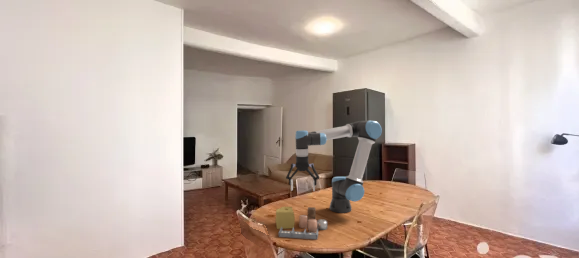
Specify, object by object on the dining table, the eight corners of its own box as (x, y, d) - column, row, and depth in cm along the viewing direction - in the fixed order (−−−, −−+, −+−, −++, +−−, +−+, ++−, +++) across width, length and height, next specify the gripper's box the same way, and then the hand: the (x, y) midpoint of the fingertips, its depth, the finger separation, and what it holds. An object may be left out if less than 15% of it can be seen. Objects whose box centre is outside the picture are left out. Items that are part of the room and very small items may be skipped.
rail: (318, 233, 146) (318, 228, 146) (317, 239, 138) (317, 234, 138) (281, 231, 149) (281, 226, 149) (278, 236, 142) (278, 232, 142)
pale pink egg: (317, 229, 152) (317, 219, 151) (316, 233, 147) (316, 222, 146) (308, 228, 152) (308, 218, 152) (307, 232, 147) (307, 221, 147)
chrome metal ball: (327, 226, 156) (327, 219, 156) (327, 230, 150) (327, 223, 150) (317, 225, 157) (317, 219, 157) (316, 229, 151) (316, 222, 151)
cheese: (275, 222, 162) (275, 206, 162) (293, 222, 163) (292, 206, 163) (276, 229, 152) (276, 212, 152) (294, 228, 153) (294, 211, 152)
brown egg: (308, 225, 158) (308, 215, 158) (307, 228, 153) (307, 218, 153) (299, 224, 159) (299, 214, 159) (298, 227, 154) (298, 217, 154)
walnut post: (315, 220, 166) (315, 207, 166) (314, 222, 162) (314, 209, 161) (308, 219, 167) (308, 207, 167) (307, 222, 162) (307, 209, 162)
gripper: (323, 155, 162) (323, 189, 163) (283, 155, 167) (284, 188, 167) (322, 156, 155) (323, 192, 156) (280, 156, 159) (281, 191, 160)
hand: (302, 190), depth 161 cm, fingers open, 13 cm apart
